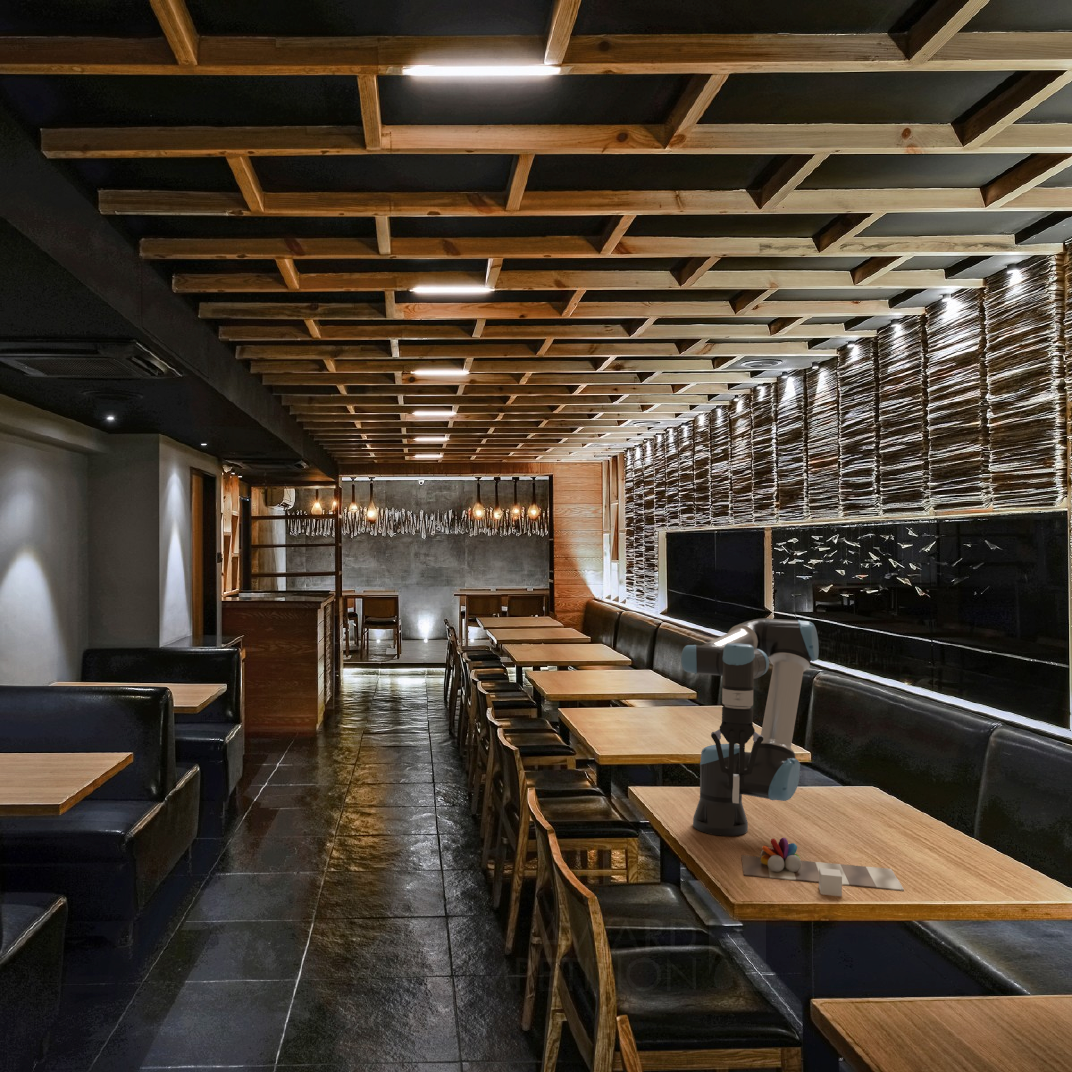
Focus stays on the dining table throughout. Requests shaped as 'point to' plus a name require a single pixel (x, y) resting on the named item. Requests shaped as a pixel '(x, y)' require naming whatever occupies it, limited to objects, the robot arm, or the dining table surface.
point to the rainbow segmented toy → (781, 856)
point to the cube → (830, 882)
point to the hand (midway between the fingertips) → (735, 801)
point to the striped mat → (810, 870)
